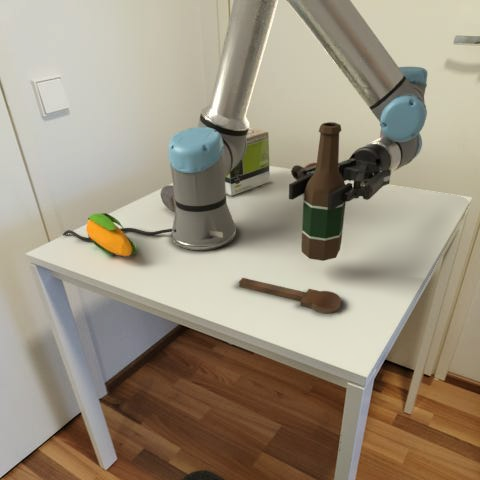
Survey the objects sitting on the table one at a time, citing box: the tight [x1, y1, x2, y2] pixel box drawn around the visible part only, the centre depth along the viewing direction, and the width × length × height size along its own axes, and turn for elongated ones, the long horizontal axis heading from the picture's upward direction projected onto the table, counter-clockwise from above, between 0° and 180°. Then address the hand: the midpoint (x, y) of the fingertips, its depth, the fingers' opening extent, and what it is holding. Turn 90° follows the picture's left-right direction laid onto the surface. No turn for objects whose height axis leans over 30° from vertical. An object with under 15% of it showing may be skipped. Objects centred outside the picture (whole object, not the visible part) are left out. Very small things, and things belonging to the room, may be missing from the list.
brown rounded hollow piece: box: [290, 162, 317, 181], centre depth 129 cm, size 12×10×8 cm
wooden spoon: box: [238, 277, 342, 314], centre depth 86 cm, size 20×6×1 cm, turn 63°
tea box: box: [225, 127, 271, 197], centre depth 130 cm, size 15×10×15 cm, turn 130°
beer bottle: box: [301, 121, 346, 262], centre depth 82 cm, size 8×8×24 cm
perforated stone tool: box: [160, 184, 176, 214], centre depth 119 cm, size 15×5×7 cm, turn 38°
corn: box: [85, 212, 138, 257], centre depth 103 cm, size 7×8×20 cm
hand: (309, 197), depth 79 cm, fingers closed on beer bottle, 7 cm apart
